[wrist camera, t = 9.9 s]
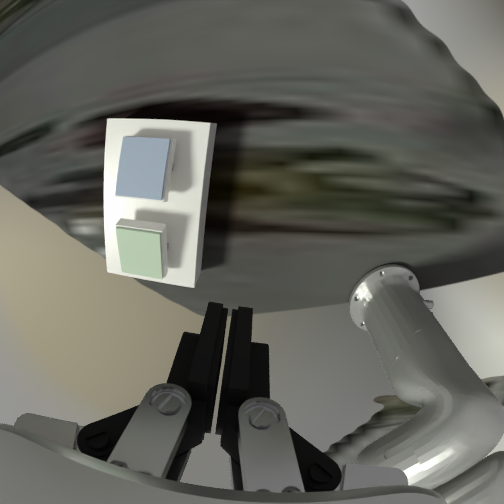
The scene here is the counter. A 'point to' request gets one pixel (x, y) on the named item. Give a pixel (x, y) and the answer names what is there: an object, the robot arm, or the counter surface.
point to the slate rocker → (145, 168)
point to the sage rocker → (142, 247)
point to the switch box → (179, 199)
